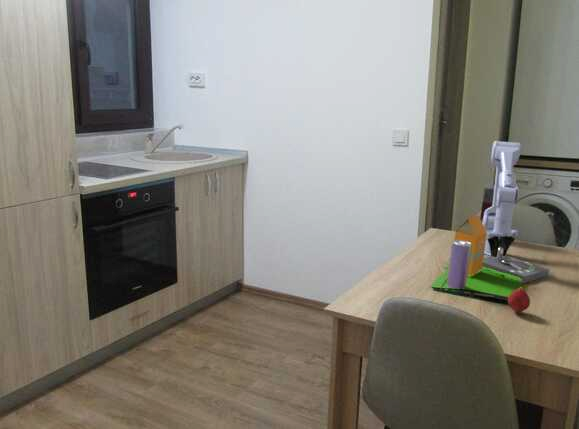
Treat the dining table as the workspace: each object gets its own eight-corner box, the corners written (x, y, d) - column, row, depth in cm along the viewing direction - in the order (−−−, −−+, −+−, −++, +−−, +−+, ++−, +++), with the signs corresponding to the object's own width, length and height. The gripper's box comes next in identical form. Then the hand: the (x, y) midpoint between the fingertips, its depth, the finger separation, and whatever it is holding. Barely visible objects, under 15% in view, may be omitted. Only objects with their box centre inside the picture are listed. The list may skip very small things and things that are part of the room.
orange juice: (481, 272, 187) (489, 217, 182) (470, 277, 180) (479, 220, 176) (460, 266, 192) (468, 212, 187) (449, 271, 185) (457, 216, 181)
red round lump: (502, 308, 155) (506, 282, 153) (521, 308, 156) (525, 283, 154) (512, 316, 150) (516, 290, 148) (531, 317, 150) (536, 291, 148)
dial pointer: (492, 257, 194) (494, 247, 193) (502, 257, 195) (504, 247, 194) (515, 270, 181) (517, 259, 180) (525, 270, 182) (527, 259, 181)
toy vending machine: (504, 244, 223) (514, 179, 217) (476, 239, 228) (486, 175, 222) (506, 239, 231) (516, 176, 224) (479, 235, 236) (488, 173, 229)
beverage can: (455, 291, 167) (462, 246, 163) (442, 284, 172) (448, 240, 168) (469, 289, 169) (476, 244, 166) (456, 282, 175) (462, 239, 171)
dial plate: (474, 266, 192) (475, 259, 192) (500, 260, 202) (501, 253, 201) (522, 283, 177) (524, 276, 177) (548, 275, 187) (549, 268, 186)
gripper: (497, 223, 183) (491, 260, 186) (527, 221, 189) (521, 257, 193) (482, 218, 189) (476, 254, 193) (511, 216, 196) (505, 251, 199)
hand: (497, 255), depth 193 cm, fingers open, 4 cm apart
